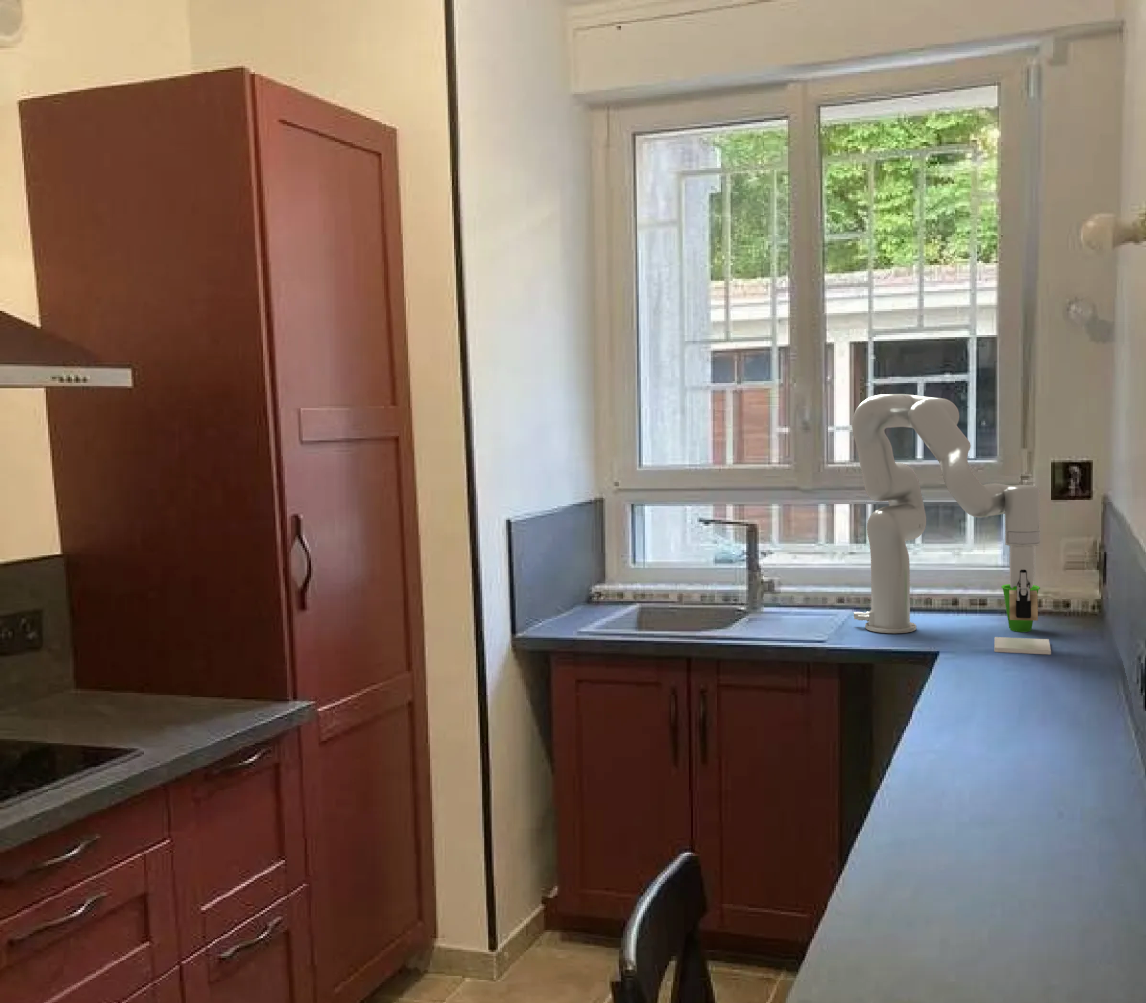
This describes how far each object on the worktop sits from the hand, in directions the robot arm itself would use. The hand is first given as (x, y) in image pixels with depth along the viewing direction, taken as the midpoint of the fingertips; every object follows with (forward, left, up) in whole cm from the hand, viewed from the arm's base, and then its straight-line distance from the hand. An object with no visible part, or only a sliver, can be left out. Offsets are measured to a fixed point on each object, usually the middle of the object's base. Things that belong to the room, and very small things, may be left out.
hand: (1023, 614), depth 258 cm
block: (0, 0, -1) cm, 1 cm away
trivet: (0, 0, -8) cm, 8 cm away
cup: (0, +21, -8) cm, 23 cm away
